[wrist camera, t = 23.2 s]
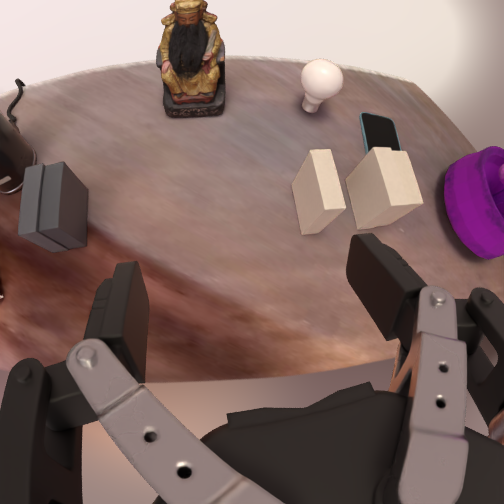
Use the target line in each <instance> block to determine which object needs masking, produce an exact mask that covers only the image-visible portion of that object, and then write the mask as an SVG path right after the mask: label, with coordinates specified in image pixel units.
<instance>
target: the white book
mask: <svg viewBox="0 0 504 504" xmlns="http://www.w3.org/2000/svg"><path fill="white" fill-rule="evenodd" d="M291 186H292V190H293V195H294V200H295V205H296V210H297V215H298V220H299V225H300V231H301V235H306V234H315V233H319V232H320V231H322V230H323V229H324V228H325V227H326V226H327V225H328V224H329V223H330V222H331V221H333V220H334V219H335V218H336V217H337V216H338V215H339V214H340V213H341V212H342V211H343V210H344V209H346V206H345V201H344V197H343V193H342V190H341V186H340V182H339V178H338V174H337V171H336V167H335V163H334V160H333V156H332V153H331V150H330V149H322V150H310V151H309V153H308V155H307V157H306V159H305V161H304V163H303V164H302V166H301V168H300V170H299V172H298V174H297V176H296V178H295V179H294V181H293V183H292V185H291Z"/></svg>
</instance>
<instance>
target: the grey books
mask: <svg viewBox="0 0 504 504" xmlns="http://www.w3.org/2000/svg"><path fill="white" fill-rule="evenodd" d="M87 201H88V189H87V188H86V187H85V186H84V185H83V184H82V182H81V181H80V180H79V179H78V178H77V177H76V175H75V174H74V173H73V172H72V171H71V170H70V168H69V167H68V166H67V165H66V164H65V162H59V163H55V164H51V165H47V166H45V165H44V164H43V163H42V164H38V165H34V166H31V167H27V168H26V169H25V175H24V181H23V188H22V196H21V205H20V214H19V226H18V235H19V236H21V237H23V238H25V239H27V240H28V241H30V242H32V243H34V244H36V245H38V246H40V247H42V248H44V249H46V250H48V251H50V252H52V253H54V252H61V251H67V250H69V249H72V248H78V247H85V246H87Z"/></svg>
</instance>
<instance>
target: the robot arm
mask: <svg viewBox="0 0 504 504" xmlns="http://www.w3.org/2000/svg"><path fill="white" fill-rule="evenodd" d="M15 82H16V84H17V86H18V88H19V93H18V95H17V97H16V98H15V100H14V101H13V102H12V103H11V104H10V106H9V107H8V110H7V116H8V117H9V118H10V120H7V118H6V117H5V116H4V115H3V114H2V112H1V111H0V192H1V193H3V194H6V195H10V194H13V193H16V192H17V191H19V190H20V189H21V188H23V181H24V175H25V169H26V168H27V167H31V166H34V165H36V161H37V157H36V152H35V150H34V149H33V148H32V147H31V145H29V144H28V143H27V142H26V141H25V140H24V138H23V137H22V136H21V135H20V132H19V129H18V127H17V126H16V125H15V124H14V123H15V122H16V117H14V116H13V115H11V113H10V111H11V109H12V107H13V106H14V104H15V103H16V102H17V101H18V100H19V98H20V96H21V94H22V87H24V86H26V85H25V84H24V83H23V82H22V81H21V80H20V79H16V80H15ZM11 119H12V120H11ZM346 275H347V279H348V282H349V284H350V285H351V287H352V288H353V290H354V291H355V293H356V294H357V296H358V297H359V299H360V300H361V302H362V303H363V305H364V306H365V308H366V309H367V311H368V313H369V314H370V316H371V317H372V319H373V320H374V322H375V323H376V325H377V327H378V328H379V330H380V331H381V333H382V335H383V336H384V338H385V339H386V341H389V340H393V339H396V338H399V340H400V343H399V345H398V348H397V354H396V359H395V364H394V370H393V374H392V380H391V384H390V388H389V390H388V391H378V390H376V391H374V389H373V387H372V385H371V383H370V382H366V383H363V384H360V385H357V386H353V387H350V388H346V389H343V390H339V391H337V392H335V393H333V394H331V395H329V396H328V397H326V398H324V399H322V400H320V401H319V402H316V403H314V404H312V405H310V406H308V407H306V408H259V409H253V410H247V411H241V412H234V413H228V414H227V419H228V423H227V424H225V425H222V426H220V427H218V428H216V429H214V430H212V431H211V432H209V433H208V434H206V435H205V436H204V437H202V438H201V439H200V440H199V439H198V438H196V436H194V435H193V434H192V433H191V432H190V431H189V430H188V429H187V428H186V427H185V426H184V425H183V424H182V423H181V422H180V421H179V420H178V419H177V418H176V417H175V416H174V415H173V414H172V413H171V412H170V411H169V410H168V409H167V408H166V407H164V405H163V404H162V403H161V402H160V401H159V400H158V399H157V398H156V397H155V396H154V395H153V394H152V393H151V392H150V391H149V389H147V387H145V386H144V385H139V384H140V383H145V370H146V350H147V335H148V322H149V299H148V295H147V291H146V288H145V284H144V281H143V277H142V273H141V270H140V266H139V264H138V262H137V261H133V262H125V263H118V264H117V265H116V268H115V271H114V275H113V278H109V279H105V280H104V281H103V282H102V284H101V285H100V286H99V287H98V289H97V291H96V295H95V298H94V301H93V305H92V310H91V312H90V315H89V319H88V323H87V326H86V330H85V334H84V338H83V341H80V342H79V343H77V344H76V345H74V346H73V347H72V348H71V350H70V351H69V353H68V355H67V358H66V360H65V361H63V362H60V363H57V364H54V365H51V366H48V367H45V368H44V367H43V365H42V364H41V363H40V361H38V360H37V359H34V358H27V359H23V360H21V361H20V362H18V363H17V364H16V365H15V366H14V367H13V368H12V369H11V371H10V373H9V376H8V380H7V384H6V388H5V391H4V396H3V400H2V405H1V409H0V504H83V500H82V427H83V425H85V424H88V423H91V422H94V421H98V420H99V422H100V423H101V425H102V426H103V427H104V429H105V430H106V432H107V433H108V434H109V436H110V437H111V438H112V440H113V441H114V442H115V444H116V445H117V446H118V448H119V449H120V450H121V452H122V453H123V454H124V455H125V457H126V458H127V459H128V460H129V461H130V463H131V464H132V465H133V466H134V468H135V469H136V470H137V471H138V472H139V473H140V475H141V476H142V477H143V478H144V479H145V480H146V481H147V483H149V485H150V486H151V487H152V488H153V489H154V490H155V491H156V492H157V493H158V494H159V495H158V497H157V498H156V500H155V501H154V502H153V503H152V504H504V304H503V303H502V301H501V300H500V299H499V298H498V297H497V296H496V295H495V294H494V293H493V292H491V291H490V290H488V289H485V288H475V289H473V290H472V292H471V294H470V296H469V298H468V299H454V297H453V296H452V295H451V294H450V293H449V292H448V291H447V290H445V289H443V288H441V287H438V286H428V285H427V284H426V283H425V282H424V281H423V280H422V279H421V278H420V277H419V275H418V274H417V273H416V272H415V271H414V270H413V269H412V268H411V267H410V266H408V263H407V262H406V261H405V260H404V259H402V257H401V256H400V255H399V254H398V253H397V252H396V251H395V250H394V249H392V248H391V247H389V246H387V245H385V244H382V243H381V241H380V240H379V239H378V238H377V237H376V236H375V235H374V234H372V233H366V234H357V235H353V236H352V238H351V243H350V249H349V255H348V261H347V266H346ZM485 336H486V337H487V338H488V340H489V341H490V343H491V344H492V345H493V347H494V348H495V350H496V351H497V353H498V362H497V364H496V366H495V367H494V366H493V365H492V363H491V362H490V360H489V359H488V357H487V356H486V354H485V353H484V351H483V350H482V348H481V347H480V343H481V342H482V340H483V338H484V337H485ZM467 389H468V391H469V393H470V395H471V396H472V398H473V400H474V402H475V404H476V405H477V407H478V409H479V411H480V413H481V415H482V417H483V418H484V420H485V422H486V424H487V426H488V428H489V435H488V436H484V435H482V434H480V433H478V432H476V431H474V430H472V429H470V428H468V427H466V426H465V416H466V395H467Z"/></svg>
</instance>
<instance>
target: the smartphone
mask: <svg viewBox="0 0 504 504" xmlns="http://www.w3.org/2000/svg"><path fill="white" fill-rule="evenodd" d="M359 118H360V123H361V129H362V134H363V140H364V146H365V152H366V155H367V154H368V152H369V151H370V150H371V149H372V148H373V147H388V148H391V150H392V151H401V147H400V143H399V139H398V135H397V131H396V127H395V124H394V122H393V120H392V119H390V118H387V117H383V116H379V115H375V114H371V113H367V112H362V113H361V114H360V116H359Z"/></svg>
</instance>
